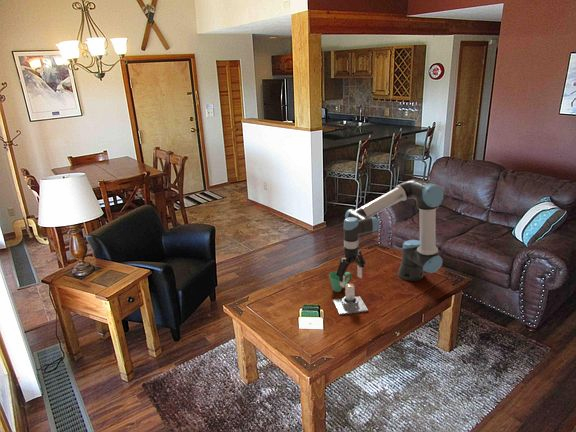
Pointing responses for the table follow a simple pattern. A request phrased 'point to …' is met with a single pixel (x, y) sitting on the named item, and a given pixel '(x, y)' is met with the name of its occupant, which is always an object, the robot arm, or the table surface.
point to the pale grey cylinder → (350, 293)
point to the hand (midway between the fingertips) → (351, 281)
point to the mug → (335, 280)
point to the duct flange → (350, 306)
